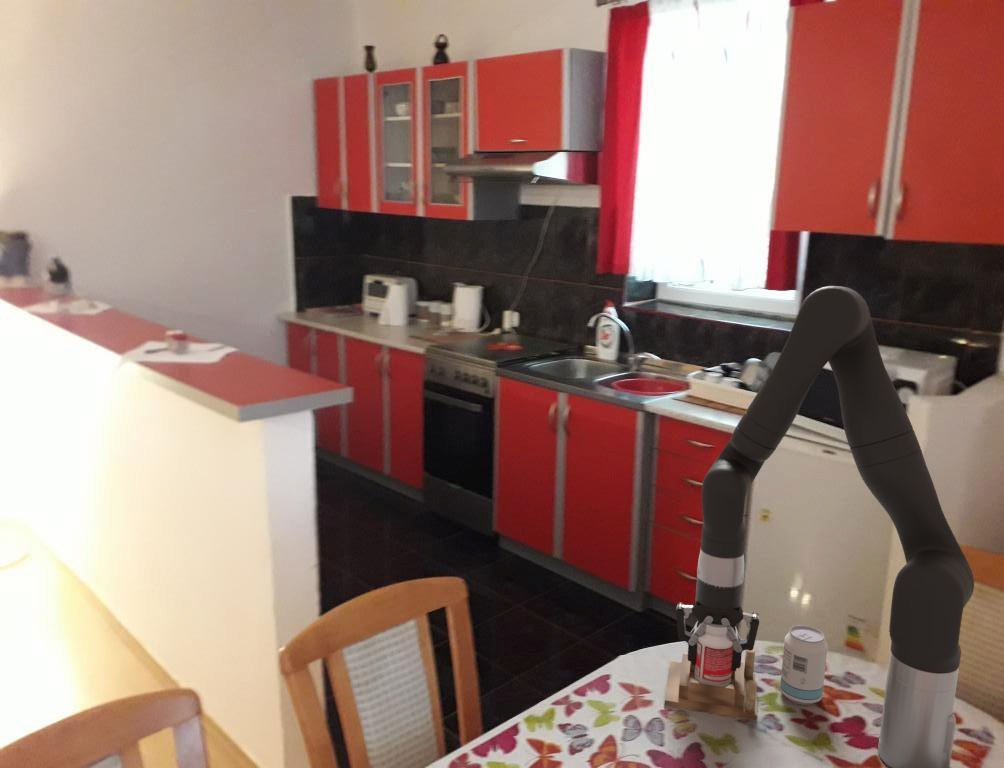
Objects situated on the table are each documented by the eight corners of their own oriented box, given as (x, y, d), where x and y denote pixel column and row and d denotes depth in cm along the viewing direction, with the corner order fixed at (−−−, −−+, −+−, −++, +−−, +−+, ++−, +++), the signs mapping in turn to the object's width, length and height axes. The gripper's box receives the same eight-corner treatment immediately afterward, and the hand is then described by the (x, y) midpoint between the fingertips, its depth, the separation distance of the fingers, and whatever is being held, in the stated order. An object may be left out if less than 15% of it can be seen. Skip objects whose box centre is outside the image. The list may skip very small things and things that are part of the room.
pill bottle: (738, 683, 142) (743, 624, 140) (713, 694, 139) (718, 633, 137) (711, 666, 147) (715, 609, 145) (686, 676, 144) (690, 618, 142)
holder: (754, 679, 148) (757, 648, 147) (756, 721, 136) (759, 687, 134) (669, 666, 152) (671, 636, 151) (664, 705, 139) (666, 673, 138)
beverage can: (830, 702, 141) (837, 638, 139) (801, 712, 138) (807, 647, 136) (799, 682, 147) (806, 620, 145) (770, 691, 144) (776, 628, 142)
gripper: (763, 571, 141) (756, 661, 144) (678, 561, 145) (672, 648, 148) (765, 590, 134) (757, 684, 137) (675, 579, 138) (669, 670, 141)
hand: (713, 665), depth 143 cm, fingers closed on pill bottle, 6 cm apart
